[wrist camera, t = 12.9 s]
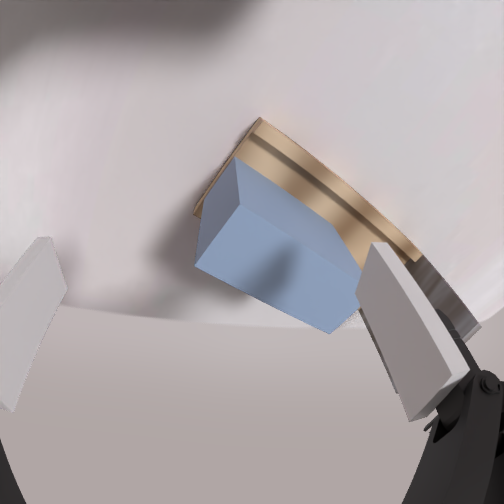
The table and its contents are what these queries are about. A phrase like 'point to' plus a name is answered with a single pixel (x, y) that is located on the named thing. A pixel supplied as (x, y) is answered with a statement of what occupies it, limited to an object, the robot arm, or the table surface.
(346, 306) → the slim book
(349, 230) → the shelf
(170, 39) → the table surface
